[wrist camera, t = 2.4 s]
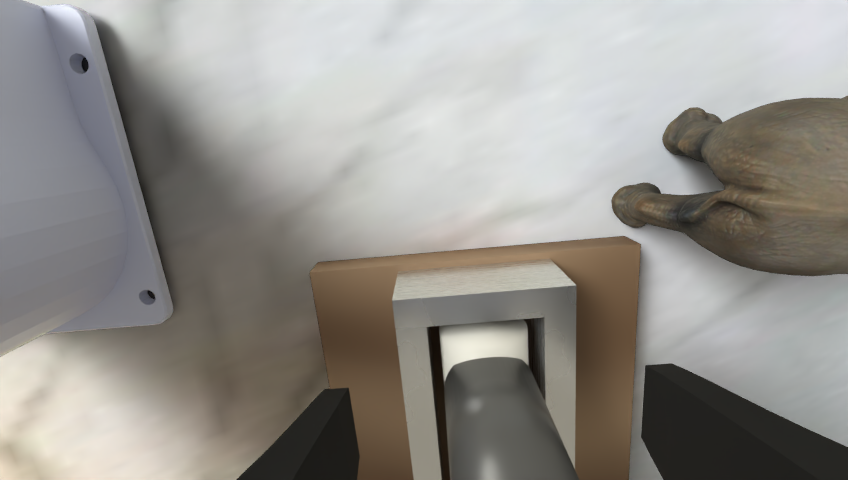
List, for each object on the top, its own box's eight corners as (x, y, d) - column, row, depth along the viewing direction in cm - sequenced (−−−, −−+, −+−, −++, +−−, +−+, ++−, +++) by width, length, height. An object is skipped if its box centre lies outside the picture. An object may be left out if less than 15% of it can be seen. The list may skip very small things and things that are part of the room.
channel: (398, 271, 12) (392, 300, 10) (549, 258, 12) (576, 285, 10) (424, 500, 14) (424, 564, 12) (552, 491, 14) (573, 554, 12)
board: (318, 262, 13) (309, 272, 12) (624, 235, 13) (640, 244, 12) (381, 636, 18) (378, 665, 17) (608, 623, 17) (619, 652, 16)
